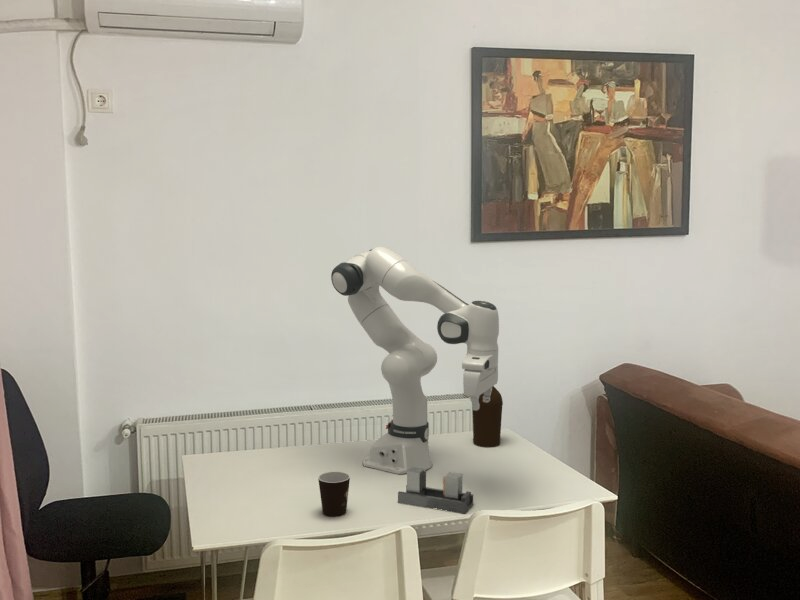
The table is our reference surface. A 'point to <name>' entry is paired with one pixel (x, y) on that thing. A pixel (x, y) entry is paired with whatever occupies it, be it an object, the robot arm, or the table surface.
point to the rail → (431, 494)
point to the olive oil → (488, 420)
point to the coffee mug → (334, 493)
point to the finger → (452, 486)
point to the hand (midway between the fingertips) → (481, 405)
